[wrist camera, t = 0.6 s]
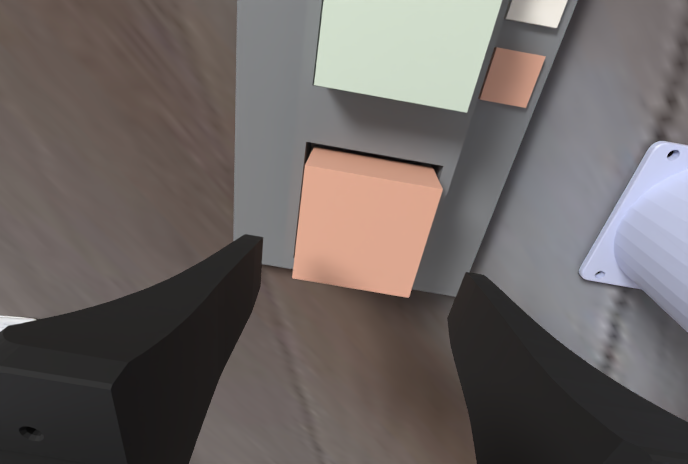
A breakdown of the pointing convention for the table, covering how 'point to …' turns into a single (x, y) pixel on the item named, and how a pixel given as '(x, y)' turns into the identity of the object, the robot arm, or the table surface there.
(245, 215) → the stepped grey tray
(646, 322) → the table surface
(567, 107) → the table surface
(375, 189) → the terracotta key
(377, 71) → the sage key
